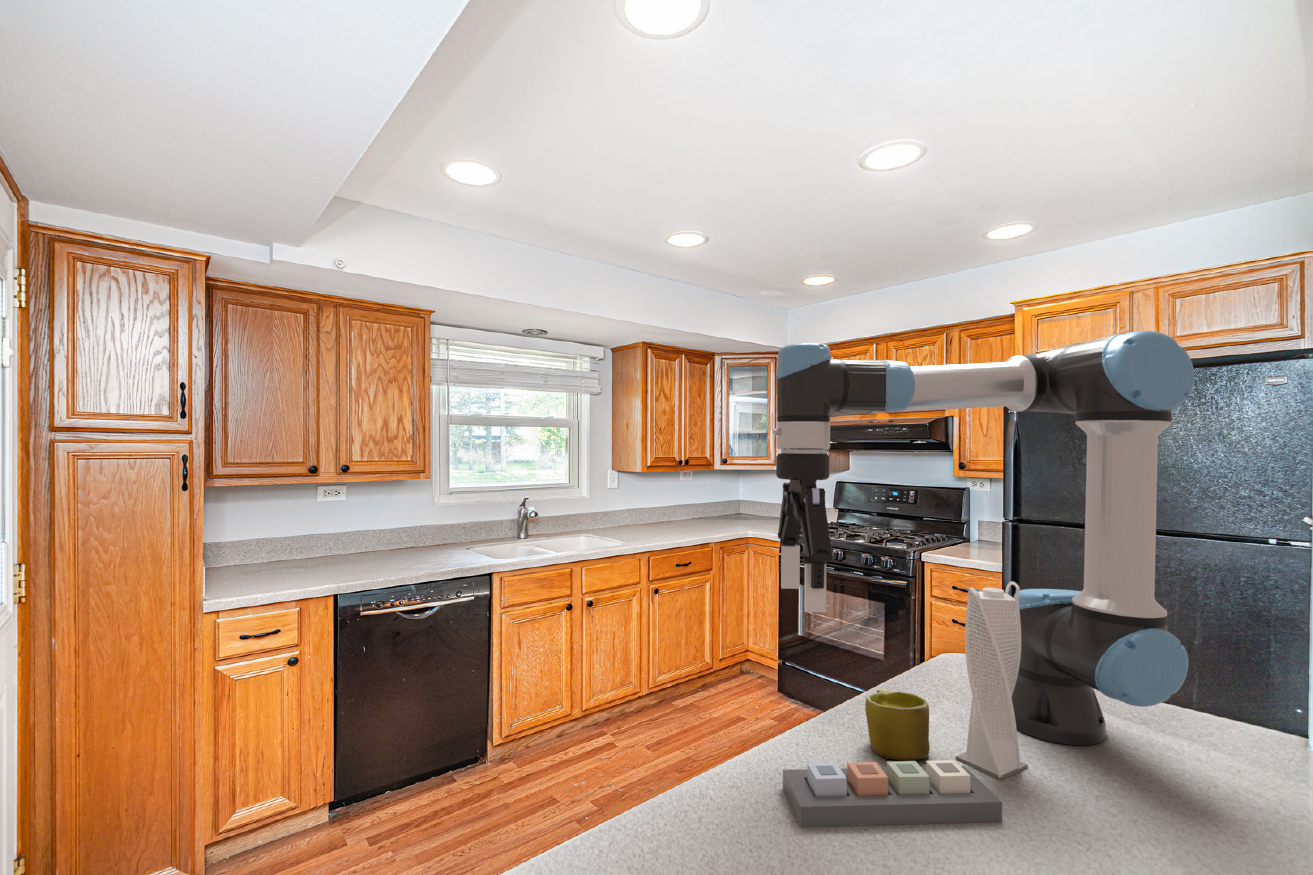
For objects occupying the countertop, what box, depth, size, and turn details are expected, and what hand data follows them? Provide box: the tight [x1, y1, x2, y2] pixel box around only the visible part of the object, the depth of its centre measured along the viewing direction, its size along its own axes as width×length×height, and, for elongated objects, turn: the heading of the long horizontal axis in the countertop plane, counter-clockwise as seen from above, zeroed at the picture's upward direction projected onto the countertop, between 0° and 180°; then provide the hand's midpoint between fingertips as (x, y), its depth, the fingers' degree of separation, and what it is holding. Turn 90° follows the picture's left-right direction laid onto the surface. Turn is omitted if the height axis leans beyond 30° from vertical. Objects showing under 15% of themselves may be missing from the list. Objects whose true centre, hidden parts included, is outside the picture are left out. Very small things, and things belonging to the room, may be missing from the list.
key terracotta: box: [846, 761, 888, 796], centre depth 84 cm, size 4×4×3 cm
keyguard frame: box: [782, 765, 1003, 828], centre depth 84 cm, size 26×9×2 cm, turn 93°
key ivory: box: [925, 759, 970, 794], centre depth 85 cm, size 4×4×3 cm
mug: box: [864, 688, 931, 761], centre depth 100 cm, size 12×10×10 cm
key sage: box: [886, 760, 929, 795], centre depth 84 cm, size 4×4×3 cm
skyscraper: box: [955, 580, 1029, 781], centre depth 94 cm, size 8×8×28 cm
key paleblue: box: [806, 762, 847, 797], centre depth 84 cm, size 4×4×3 cm
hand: (801, 599), depth 91 cm, fingers open, 13 cm apart
